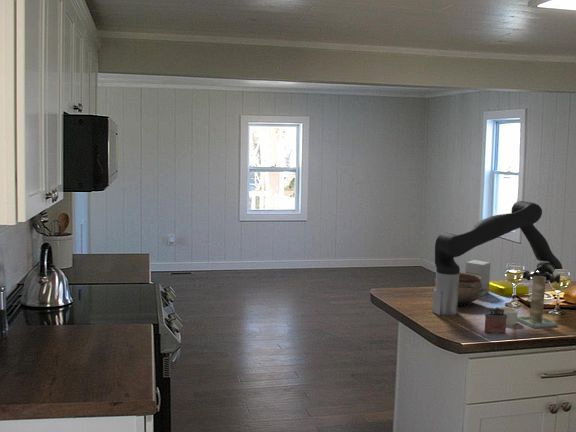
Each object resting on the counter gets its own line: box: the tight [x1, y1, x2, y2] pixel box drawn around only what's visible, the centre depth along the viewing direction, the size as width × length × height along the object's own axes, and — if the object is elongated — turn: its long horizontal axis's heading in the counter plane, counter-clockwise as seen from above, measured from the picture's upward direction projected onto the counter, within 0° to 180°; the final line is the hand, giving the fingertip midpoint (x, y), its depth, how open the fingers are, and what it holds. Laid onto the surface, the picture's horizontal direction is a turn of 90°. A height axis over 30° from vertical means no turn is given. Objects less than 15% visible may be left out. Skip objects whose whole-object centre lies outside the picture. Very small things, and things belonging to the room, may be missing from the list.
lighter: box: [483, 306, 507, 335], centre depth 238 cm, size 8×3×10 cm, turn 92°
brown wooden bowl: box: [433, 272, 488, 306], centre depth 283 cm, size 25×19×12 cm
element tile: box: [489, 279, 530, 297], centre depth 308 cm, size 15×15×5 cm
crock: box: [498, 306, 519, 326], centre depth 253 cm, size 8×8×6 cm
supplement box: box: [464, 259, 491, 297], centre depth 303 cm, size 9×9×15 cm
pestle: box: [529, 276, 546, 324], centre depth 252 cm, size 5×5×18 cm
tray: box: [517, 315, 558, 329], centre depth 253 cm, size 11×11×2 cm
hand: (539, 279), depth 261 cm, fingers open, 8 cm apart
